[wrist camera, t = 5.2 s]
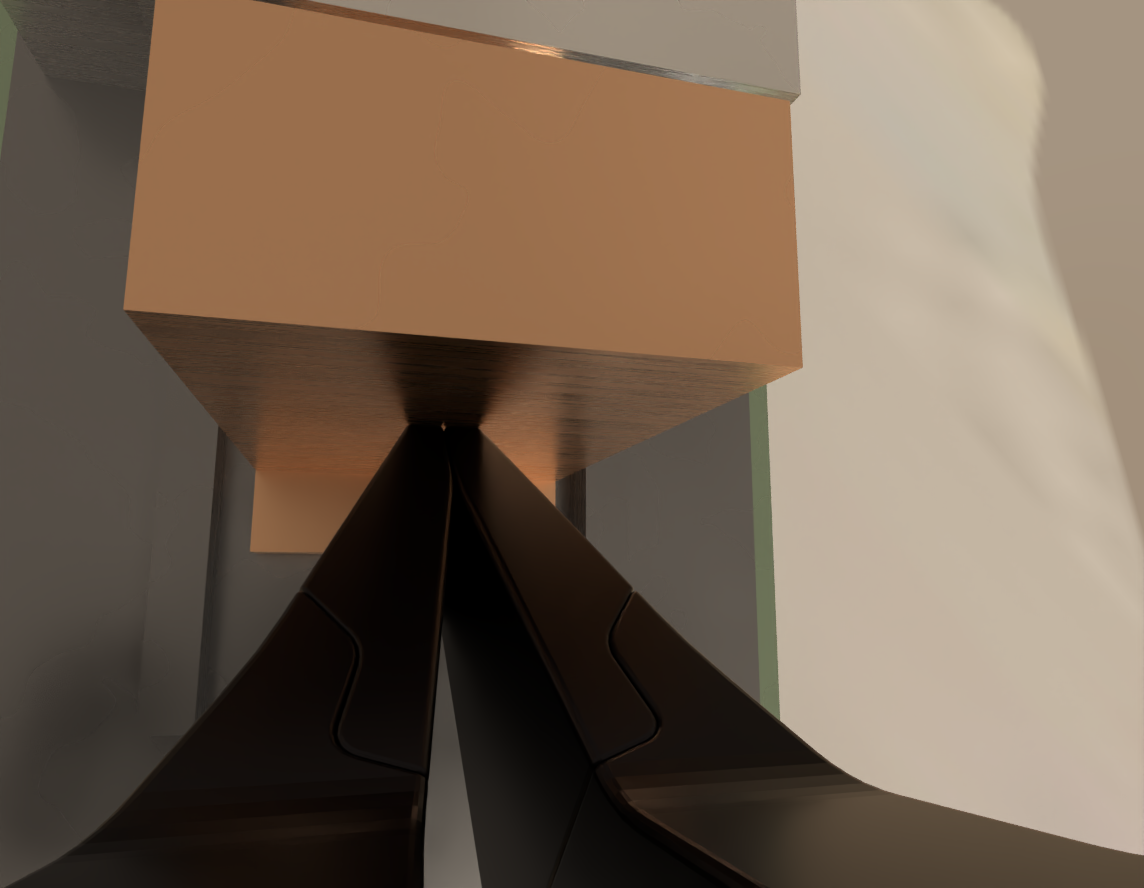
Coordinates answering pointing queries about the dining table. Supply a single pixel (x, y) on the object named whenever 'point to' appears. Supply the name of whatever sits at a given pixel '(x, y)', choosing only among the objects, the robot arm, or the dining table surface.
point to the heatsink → (220, 471)
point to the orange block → (446, 248)
